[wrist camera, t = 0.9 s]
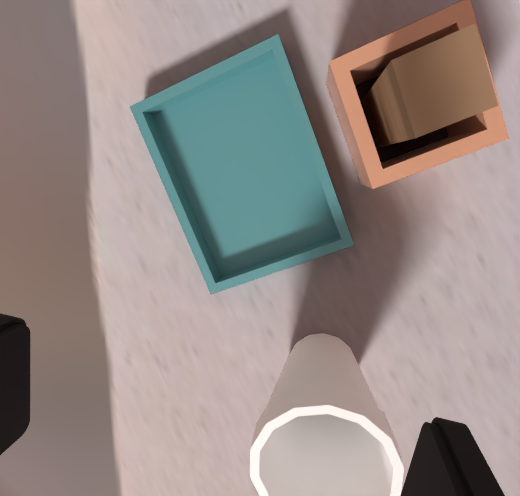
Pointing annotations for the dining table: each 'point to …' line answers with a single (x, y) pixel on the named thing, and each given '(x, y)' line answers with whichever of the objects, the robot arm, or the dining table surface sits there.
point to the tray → (243, 168)
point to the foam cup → (324, 429)
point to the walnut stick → (430, 88)
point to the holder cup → (373, 64)
